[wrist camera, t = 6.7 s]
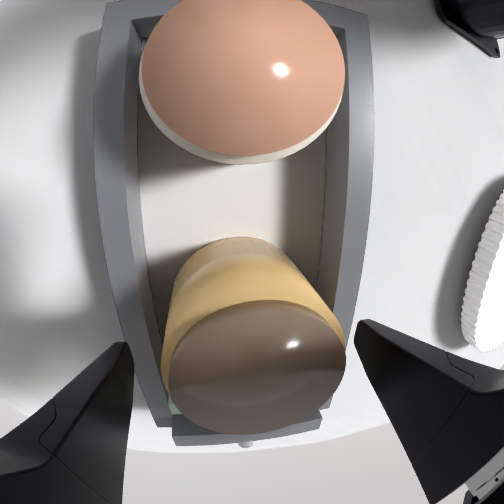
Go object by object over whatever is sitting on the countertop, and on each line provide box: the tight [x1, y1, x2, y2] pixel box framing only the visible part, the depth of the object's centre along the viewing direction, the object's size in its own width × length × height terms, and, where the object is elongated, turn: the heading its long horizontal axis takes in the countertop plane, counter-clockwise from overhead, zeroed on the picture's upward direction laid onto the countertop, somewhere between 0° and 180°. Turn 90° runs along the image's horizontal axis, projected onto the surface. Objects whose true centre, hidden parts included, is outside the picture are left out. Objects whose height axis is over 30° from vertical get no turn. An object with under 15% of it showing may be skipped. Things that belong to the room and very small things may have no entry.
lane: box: [93, 0, 374, 446], centre depth 9 cm, size 9×18×3 cm, turn 0°
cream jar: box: [139, 0, 345, 165], centre depth 7 cm, size 5×5×4 cm
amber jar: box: [161, 237, 346, 435], centre depth 9 cm, size 6×6×5 cm
